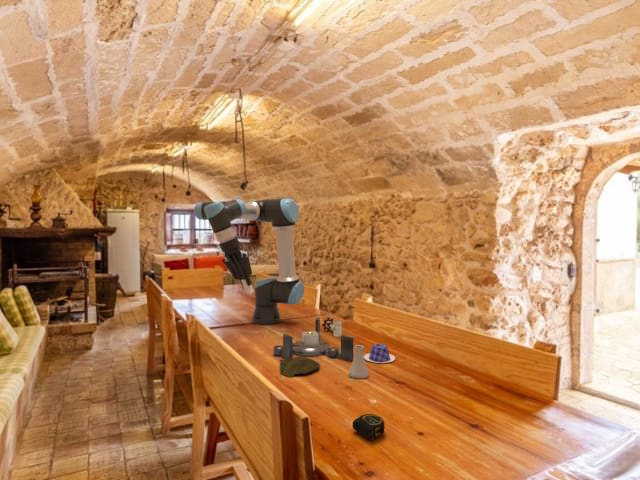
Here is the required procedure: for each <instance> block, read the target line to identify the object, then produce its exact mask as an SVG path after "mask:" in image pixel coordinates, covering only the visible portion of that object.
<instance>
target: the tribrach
mask: <svg viewBox="0 0 640 480" xmlns="http://www.w3.org/2000/svg"><path fill="white" fill-rule="evenodd" d="M293 355H294V356H297V357H306V358H309V357H310V358H311V357H312V358H313V357H315V358H316V357H320V356H321V357H322V356H326V357H328V358H330V359H339V360H344V361H348V362H350V363H352V362H353V359H354V337H353V336H349V335H344V334H342V335H341V336H340V347H337V346H330V344H329V343H328V342H327V341H324V340H321V317H320V316H317V317H316V318H315V330H313V331H312V330H310V331H309V330H308V331H301V340H298V341H295V342H293Z"/></svg>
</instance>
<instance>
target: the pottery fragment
mask: <svg viewBox="0 0 640 480" xmlns="http://www.w3.org/2000/svg"><path fill="white" fill-rule="evenodd" d="M320 367H321V364H320V363H319V362H318V361H316V360H314V359H312V358H309V357H304V356H295V357H293V358H292V359H280V360H279V369H280V370H279V373H280V375H282V376H285V377H288V378H290V379H291V378H292V377H293V376H295V375H302V374H304V375H306V374H308V373H311V372H312V371H314V370H318V369H319V368H320Z"/></svg>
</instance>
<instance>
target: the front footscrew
mask: <svg viewBox="0 0 640 480" xmlns="http://www.w3.org/2000/svg"><path fill="white" fill-rule="evenodd" d="M293 339H294V338H293V336H291V335H288V334H287V333H283V334H282V345H275V346H273V347H272V348H273V350H272V351H273V356H274V357H281V358H283V359H284V360H286V359H292V358H294V357H293V356H294V354H293V343H294V342H293Z"/></svg>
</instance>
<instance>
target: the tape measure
mask: <svg viewBox="0 0 640 480" xmlns="http://www.w3.org/2000/svg"><path fill="white" fill-rule="evenodd" d="M385 426H386V425H385V421H384V418H382V417H381V416H379V415H377V414H374V413H365V414H361V415H360V416H359V417H357V418H355V419H354V420H353V421H352V429H353V430H354V431H355V432H356V433H358V434H361V435H362V436H364V437H365V438H367V439H368V440H369V441H373V440H374V439H375V438H379V437H381V436H383V434H384V432H385Z"/></svg>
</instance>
